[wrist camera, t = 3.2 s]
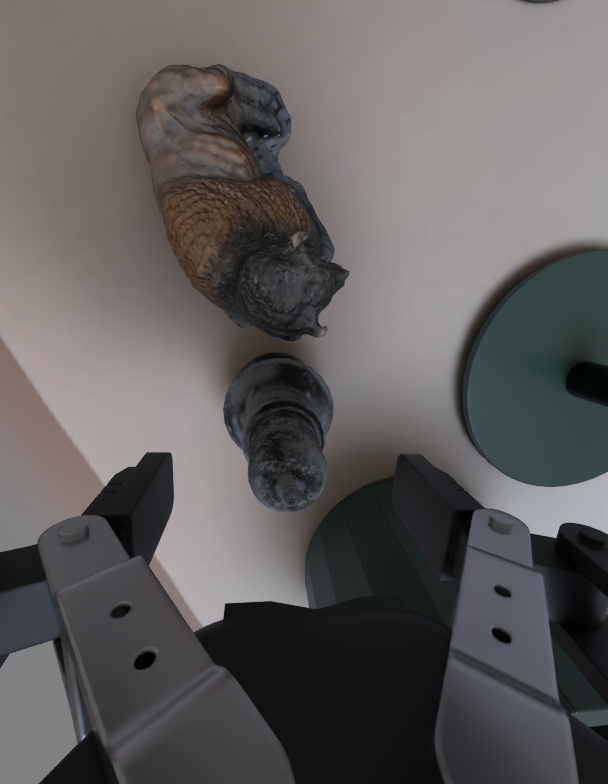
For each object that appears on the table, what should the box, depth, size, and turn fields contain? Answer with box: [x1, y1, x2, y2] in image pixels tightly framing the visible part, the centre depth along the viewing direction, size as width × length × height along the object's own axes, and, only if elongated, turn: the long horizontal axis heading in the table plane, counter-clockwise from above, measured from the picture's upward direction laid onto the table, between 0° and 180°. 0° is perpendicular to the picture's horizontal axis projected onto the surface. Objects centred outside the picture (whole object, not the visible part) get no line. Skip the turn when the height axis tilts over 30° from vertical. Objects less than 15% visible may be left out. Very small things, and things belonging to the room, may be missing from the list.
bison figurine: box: [136, 64, 349, 341], centre depth 14 cm, size 12×7×10 cm, turn 25°
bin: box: [305, 477, 608, 741], centre depth 19 cm, size 15×15×14 cm
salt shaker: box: [223, 353, 333, 512], centre depth 16 cm, size 6×6×12 cm
